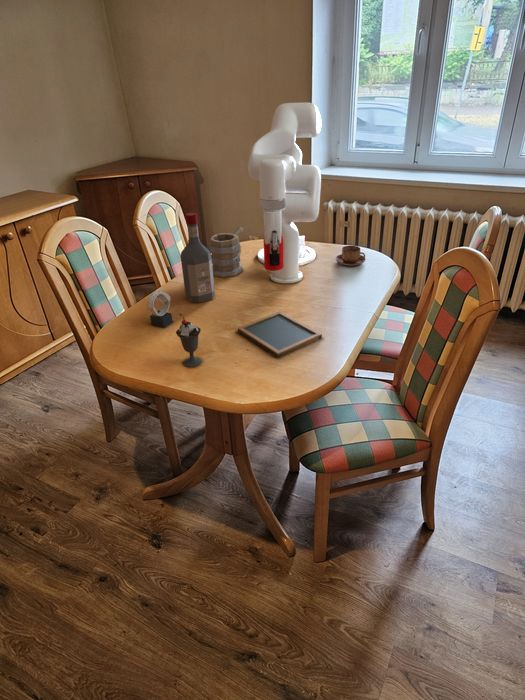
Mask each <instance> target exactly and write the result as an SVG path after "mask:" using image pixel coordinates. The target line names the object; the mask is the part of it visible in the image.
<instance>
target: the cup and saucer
mask: <svg viewBox="0 0 525 700" xmlns="http://www.w3.org/2000/svg"><path fill="white" fill-rule="evenodd" d="M335 261H336V262H337V263H338V264H340V265H342V266H346V267H347V266H348V267H356V266H359V265H362V264H364V263H365V261H366V254H365V252H362V251H361V247H360V246H357V245H344V246H342V248H341V254H339V255H337V256H335Z"/></svg>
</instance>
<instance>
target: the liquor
mask: <svg viewBox="0 0 525 700" xmlns="http://www.w3.org/2000/svg"><path fill="white" fill-rule="evenodd" d="M185 221H186V223H185V224H186V226H187V235H188V236H187V237H188V240H187V244H186V245H185V246H184V248H183V249H182V250H181V252H180V263H181V271H182V277H183V284H184V293H185V297H186V298H187V299H188V300H189V301H190V302H191V303H194V304H201V303H205V302H208V301H211V300H213V298H214V297H215V295H216V292H215V291H216V290H215V283H214V281H215V280H214V275H213V269H212V265H213V264H212V259H211V255H212V253H211V251H210V249H208V248H207V247H206V246H205V245H203V243H202V242H201V240H200V236H199V225H198V223H199V222H198V214H197V213H196V212H187V213H185Z"/></svg>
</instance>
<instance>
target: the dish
mask: <svg viewBox="0 0 525 700" xmlns="http://www.w3.org/2000/svg"><path fill="white" fill-rule="evenodd" d="M316 254H317V253H316V251H315V249H313V248H311V247H309V246H307V245H306V235H299V267H301V266H304V265H306V264H310V263H312V262H313V261H314V260H315V258H316ZM257 258H258V261H259V262H261V263H262V264H264V247H263V248H262V249H260V250H259V251H258V253H257Z"/></svg>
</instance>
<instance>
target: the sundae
mask: <svg viewBox="0 0 525 700" xmlns="http://www.w3.org/2000/svg"><path fill="white" fill-rule="evenodd" d="M179 316H181V317H182V319H183V320H181V325H180V326H179V328H178V329H177V330H176V331H175V334H176V336H177V337H178V338H179V339H180V343H181V346H182V348H183V350H184V351H185V352H186V353H189V357H188V358H186V359H184V361H183V364H184V366H186V367H188V368H194V367H198V366H200V365H201V363H202V359H201V358H200V357H198V356H195V354H194V353H195V352H196V351H197V349H198V348H199V335H200V333H201V328H200V327H198V326H196V325H194V324H193V323H192V322H191V321H187V320H185V317H184V315H182V313H179Z"/></svg>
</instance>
